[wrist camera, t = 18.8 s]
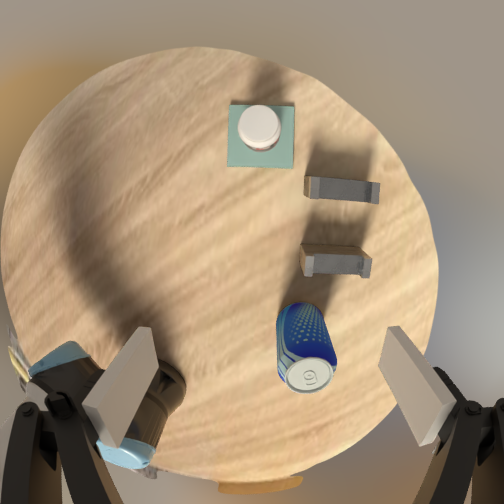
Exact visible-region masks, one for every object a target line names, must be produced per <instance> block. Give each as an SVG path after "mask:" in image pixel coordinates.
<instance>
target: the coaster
mask: <svg viewBox="0 0 504 504" xmlns="http://www.w3.org/2000/svg"><path fill="white" fill-rule="evenodd" d="M251 106H254V105H229V126H228V158H227V167H261V168H285V169H293V141H294V107H292V106H273V105H264V106H267V107H269V108H270V109H272V110H273V111H274V112H275V113H276V114H277V116H278V117H279V119H280V122H281V133H280V137H279V141H278V143H277V144H276V146H275V147H274V148H272V149H271V150H269V151H266V152H256V151H253V150H251V149H249V148H248V147H247V146H246V145H245V143H244V142H243V141H242V140H241V138H240V136H239V133H238V121H239V119H240V117H241V115H242V113H243V112H244V111H245V110H246V109H247V108H249V107H251Z"/></svg>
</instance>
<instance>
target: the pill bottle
mask: <svg viewBox="0 0 504 504" xmlns="http://www.w3.org/2000/svg"><path fill="white" fill-rule="evenodd" d="M238 133H239V136H240V138H241V140H242V141H243V142H244V143H245V145H246V146H247V147H248V148H249V149H251V150H253V151H256V152H266V151H269V150H271V149H272V148H274V147H275V146H276V144H277V143H278V141H279V137H280V133H281V122H280V119H279V117H278V116H277V114H276V113H275V112H274V111H273V110H272V109H270V108H269V107H267V106H264V105H254V106H251V107H249V108H247V109H246V110H245V111H244V112H243V113H242V115H241V117H240V119H239V121H238Z"/></svg>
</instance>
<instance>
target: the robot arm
mask: <svg viewBox="0 0 504 504" xmlns="http://www.w3.org/2000/svg"><path fill="white" fill-rule="evenodd" d="M378 367H379V368H380V370H381V372H382V374H383V376H384V378H385V380H386V381H387V383H388V385H389V387H390V389H391V391H392V393H393V395H394V397H395V399H396V401H397V403H398V404H399V406H400V408H401V410H402V412H403V414H404V416H405V418H406V420H407V422H408V424H409V426H410V428H411V431H412V433H413V435H414V437H415V439H416V441H417V443H418V445H419V446H423V445H426V444H429V443H432V442H433V441H434V439H435V438H436V436H437V435H439V437H440V439H441V440H440V441H439V443H438V444H437V446H436V447H435V449H434V450H433V452H432V454H434V456H433V459H432V461H431V464H430V466H429V469H428V472H427V474H426V476H425V479H424V481H423V483H422V485H421V487H420V490H419V492H418V494H417V496H416V498H415V500H414V502H413V504H464V500H465V498H466V494H467V491H468V488H469V484H470V481H471V477H472V497H471V504H504V398H500V399H499V400H497V402H496V404H495V405H494V407H486V408H483V407H482V406H481V405H480V404H479V403H478V402H475V401H470V400H469V401H467V400H466V399H465V397H464V396H463V395H462V393H461V392H460V391H459V389H458V388H457V387H456V385H455V384H453V382H452V380H451V379H450V378H449V376H448V375H447V374H446V373H445V371H443V370H442V369H440V368H438V367H433V368H432V367H431V365H430V364H429V363H428V361H427V360H426V359H425V358H424V356H423V355H422V354H421V352H420V351H419V350H418V349H417V347H416V346H415V345H414V344H413V342H412V341H411V340H410V339H409V337H408V336H407V335H406V334H405V332H404V331H403V330H402V329H401V327H400V326H393V327H388V328H387V332H386V337H385V341H384V345H383V349H382V353H381V357H380V361H379V365H378ZM28 372H29V374H30V376H31V377H32V379H31V380H30V381H29V382H28V383H27V384H26V387H27V397H26V398H25V400H24V401H23V402H22V403H21V404H20V405H19V406H18V407H17V408H16V409H15V411H14V412H13V413H12V414H11V415H10V416H9V417H8V419H7V420H6V421H5V422H4V423H3V424H2V426H1V427H0V504H62V485H61V464H62V468H63V471H64V475H65V479H66V482H67V485H68V488H69V491H70V495H71V498H72V501H73V503H74V504H124V503H123V501H122V500H121V498H120V495H119V493H118V491H117V489H116V487H115V485H114V483H113V481H112V479H111V476H110V474H109V472H108V470H107V467H106V465H105V462H104V460H106V461H108V462H110V463H113V464H116V465H118V466H122V467H125V468H131V469H140V468H144V467H146V466H147V465H148V464H149V463H150V461H151V459H152V457H153V455H154V454H155V452H156V448H157V445H158V442H159V440H160V437H161V434H162V432H163V429H164V426H165V424H166V421H167V418H168V417H169V416H170V415H171V414H172V413H173V412H174V411H175V410H176V409H177V408H178V407H179V406H180V405H181V403H182V402H183V399H184V397H185V394H186V386H185V383H184V380H183V379H182V377H181V376H180V374H179V373H178V372H177V371H176V370H175V369H174V368H173V367H171V366H170V365H169V364H167V363H165V362H163V361H161V360H159V359H157V355H156V351H155V346H154V341H153V336H152V331H151V328H150V327H138V328H137V329H136V331H135V332H134V333H133V335H132V336H131V337H130V338H129V340H128V341H127V342H126V344H125V345H124V346H123V348H122V349H121V350H120V352H119V353H118V354H117V356H116V357H115V358H114V360H113V361H112V362H111V364H110V365H109V366H108V368H107V369H106V370H103V369H101V368H100V367H99V366H98V365H97V364H96V362H95V361H94V360H93V359H92V358H91V356H90V355H89V354H87V353H86V352H85V351H84V350H83V348H82V347H81V346H80V345H79V344H78V343H77V342H75V341H68V342H66V343H64V344H62V345H61V346H59V347H58V348H56V349H55V350H53V351H52V352H50V353H49V354H47V355H46V356H45V357H43V358H42V359H41V360H39V361H38V362H37V363H35V364H34V365H33V366H31V367H30V368H29V370H28ZM434 452H435V453H434ZM103 459H104V460H103Z"/></svg>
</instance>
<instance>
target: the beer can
mask: <svg viewBox="0 0 504 504" xmlns="http://www.w3.org/2000/svg"><path fill="white" fill-rule="evenodd" d="M276 335H277V369H278V374H279V376H280V378H281V379H282V380H283V381H284V382H285V383H286V385H287V386H288V388H289V389H291V390H292V391H294V392H297V393H300V394H311V393H315V392H318V391H320V390H322V389H324V388H325V387H326V386H328V385H329V383H330V382H331V380H332V378H333V374H334V372H335V370H336V366H337V358H336V354H335V351H334V348H333V345H332V342H331V339H330V336H329V333H328V330H327V327H326V324H325V321H324V318H323V315H322V313H321V311H320V310H319V309H318V308H317V307H316V306H314V305H312V304H310V303H305V302H298V303H293V304H291V305H289V306H287V307H285V308H284V309H283V310H282V311H281V312H280V314H279V315H278V318H277V321H276Z"/></svg>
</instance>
